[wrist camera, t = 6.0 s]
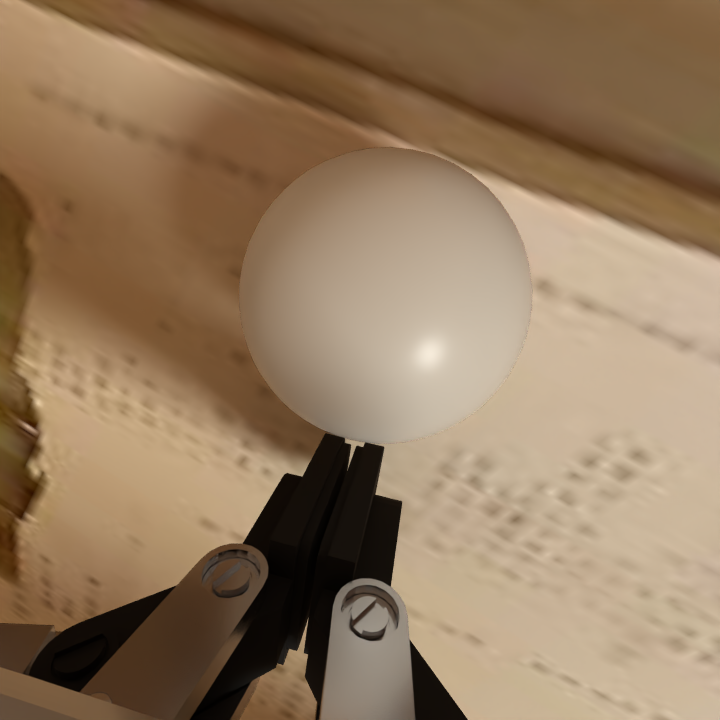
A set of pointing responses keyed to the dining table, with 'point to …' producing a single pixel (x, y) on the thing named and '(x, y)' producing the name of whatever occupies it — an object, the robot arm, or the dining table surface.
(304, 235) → the cue ball
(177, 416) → the dining table surface
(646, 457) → the dining table surface
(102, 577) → the dining table surface
